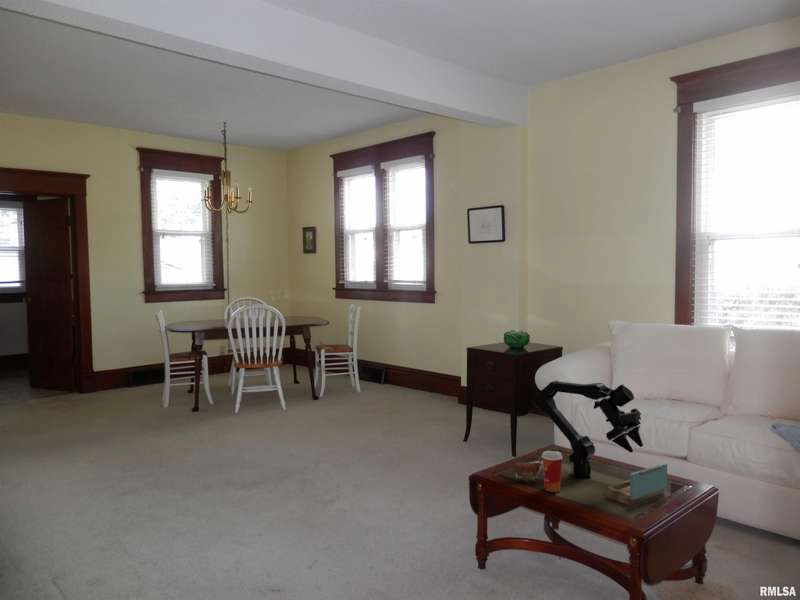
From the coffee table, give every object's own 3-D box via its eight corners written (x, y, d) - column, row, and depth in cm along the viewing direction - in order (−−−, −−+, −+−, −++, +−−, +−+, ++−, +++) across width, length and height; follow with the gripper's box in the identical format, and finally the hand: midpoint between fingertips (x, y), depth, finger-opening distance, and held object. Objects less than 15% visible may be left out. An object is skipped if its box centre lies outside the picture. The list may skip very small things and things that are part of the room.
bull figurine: (547, 483, 236) (547, 462, 236) (512, 481, 239) (512, 460, 239) (547, 479, 241) (547, 459, 240) (512, 477, 243) (512, 457, 243)
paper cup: (543, 485, 234) (543, 449, 233) (564, 487, 231) (563, 451, 230) (540, 492, 227) (539, 455, 226) (561, 495, 224) (561, 457, 223)
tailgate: (630, 499, 213) (630, 473, 212) (664, 487, 224) (664, 462, 223) (633, 500, 212) (633, 474, 211) (668, 488, 222) (668, 463, 222)
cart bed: (606, 496, 221) (606, 487, 221) (640, 485, 232) (640, 476, 232) (629, 505, 213) (629, 495, 213) (663, 492, 224) (663, 483, 224)
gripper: (618, 406, 222) (644, 445, 216) (638, 398, 236) (663, 434, 230) (595, 421, 228) (620, 459, 222) (616, 412, 242) (640, 447, 236)
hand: (637, 449), depth 227 cm, fingers open, 9 cm apart
